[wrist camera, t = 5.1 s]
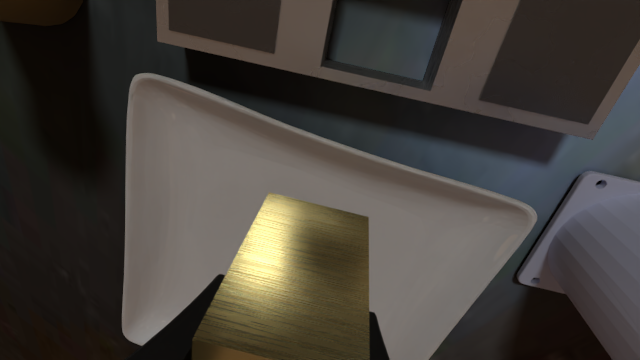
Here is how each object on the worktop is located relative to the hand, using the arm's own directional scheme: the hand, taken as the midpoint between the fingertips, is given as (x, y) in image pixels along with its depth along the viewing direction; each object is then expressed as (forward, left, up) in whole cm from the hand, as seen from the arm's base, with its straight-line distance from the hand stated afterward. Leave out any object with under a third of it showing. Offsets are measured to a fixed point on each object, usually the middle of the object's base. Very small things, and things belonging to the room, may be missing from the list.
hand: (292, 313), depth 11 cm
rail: (-1, -9, -10) cm, 14 cm away
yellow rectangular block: (0, -1, -3) cm, 3 cm away
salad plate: (+1, +7, -10) cm, 12 cm away
